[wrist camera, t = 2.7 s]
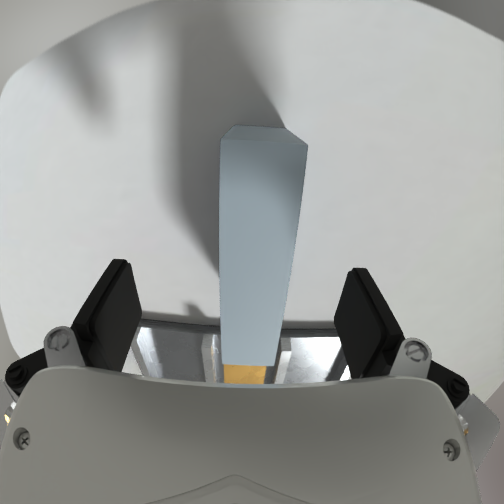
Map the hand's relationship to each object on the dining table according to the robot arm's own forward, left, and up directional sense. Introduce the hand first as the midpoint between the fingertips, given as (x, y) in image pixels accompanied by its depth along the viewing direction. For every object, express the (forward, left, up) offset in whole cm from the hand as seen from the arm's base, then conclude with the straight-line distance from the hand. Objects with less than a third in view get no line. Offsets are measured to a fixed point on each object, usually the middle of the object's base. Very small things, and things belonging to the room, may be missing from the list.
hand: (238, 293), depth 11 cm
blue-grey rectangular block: (-1, 0, -8) cm, 8 cm away
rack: (-1, +19, -7) cm, 20 cm away
